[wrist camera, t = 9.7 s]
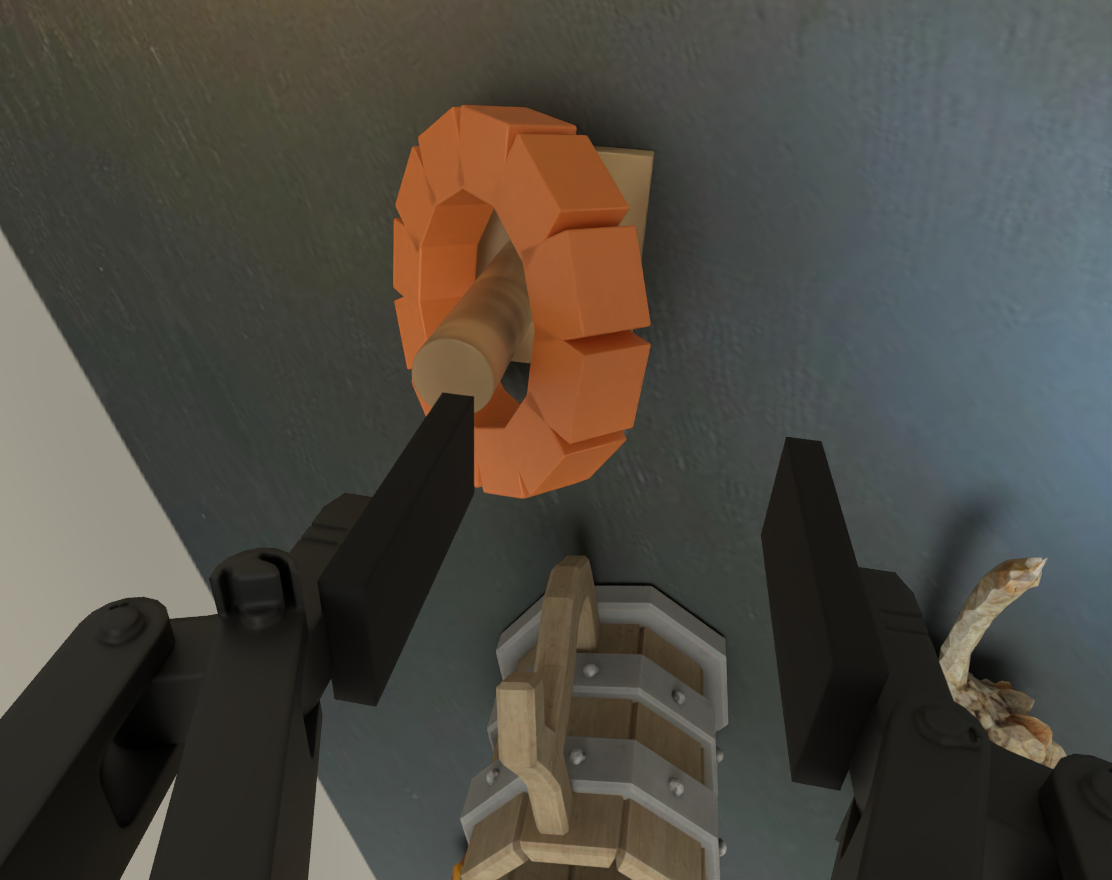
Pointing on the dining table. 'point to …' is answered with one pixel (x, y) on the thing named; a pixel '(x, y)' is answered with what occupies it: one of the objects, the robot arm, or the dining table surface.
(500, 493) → the ring
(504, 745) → the tankard
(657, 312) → the dining table surface
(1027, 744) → the pine cone
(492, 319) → the rack
